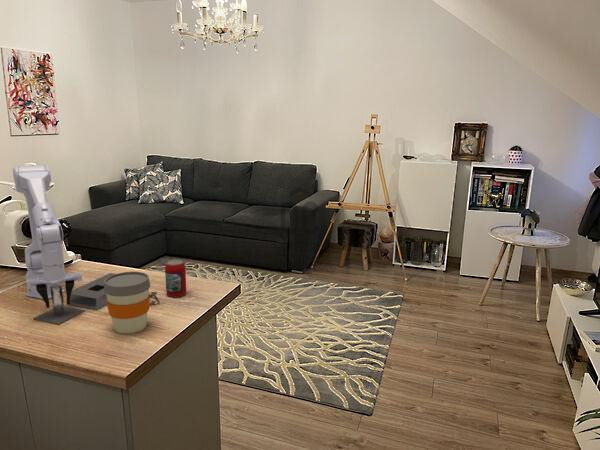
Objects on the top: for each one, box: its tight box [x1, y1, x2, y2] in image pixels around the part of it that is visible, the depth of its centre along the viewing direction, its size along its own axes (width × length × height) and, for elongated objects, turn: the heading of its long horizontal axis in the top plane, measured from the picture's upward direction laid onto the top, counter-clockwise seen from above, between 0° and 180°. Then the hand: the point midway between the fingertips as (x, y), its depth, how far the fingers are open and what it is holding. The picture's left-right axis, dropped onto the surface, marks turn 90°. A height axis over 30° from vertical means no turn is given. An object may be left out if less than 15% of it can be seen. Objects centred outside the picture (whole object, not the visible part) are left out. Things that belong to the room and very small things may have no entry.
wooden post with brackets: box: [149, 291, 161, 306], centre depth 146 cm, size 2×8×4 cm, turn 114°
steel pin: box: [50, 283, 65, 316], centre depth 136 cm, size 3×3×10 cm
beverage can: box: [164, 258, 187, 298], centre depth 154 cm, size 7×7×12 cm
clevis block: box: [70, 272, 115, 311], centre depth 152 cm, size 12×20×4 cm, turn 161°
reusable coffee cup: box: [104, 271, 151, 335], centre depth 130 cm, size 13×12×15 cm
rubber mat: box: [32, 305, 86, 326], centre depth 138 cm, size 10×10×1 cm
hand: (58, 305), depth 137 cm, fingers open, 5 cm apart
